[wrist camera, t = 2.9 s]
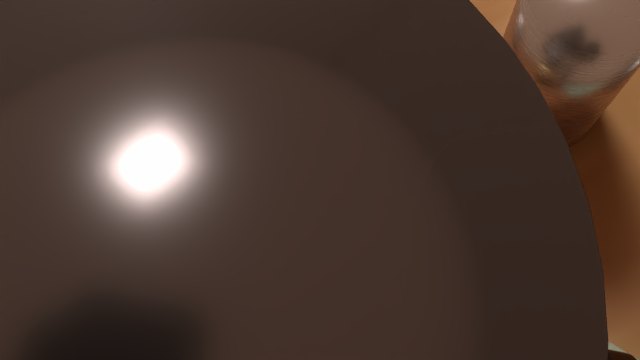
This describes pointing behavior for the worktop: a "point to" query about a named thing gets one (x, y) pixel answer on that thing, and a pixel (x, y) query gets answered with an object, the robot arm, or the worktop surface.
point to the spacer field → (577, 54)
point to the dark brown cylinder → (284, 186)
